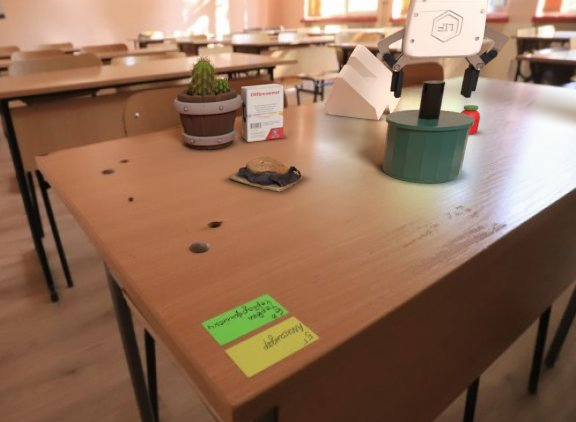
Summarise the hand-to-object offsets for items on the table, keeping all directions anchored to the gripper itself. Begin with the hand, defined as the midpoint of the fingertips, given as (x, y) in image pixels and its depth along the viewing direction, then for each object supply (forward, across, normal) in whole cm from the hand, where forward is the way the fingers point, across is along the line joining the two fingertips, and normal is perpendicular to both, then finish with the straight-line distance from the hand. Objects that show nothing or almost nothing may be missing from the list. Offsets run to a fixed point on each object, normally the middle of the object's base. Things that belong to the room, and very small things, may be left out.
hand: (430, 96), depth 65 cm
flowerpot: (+13, -41, +14) cm, 45 cm away
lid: (+4, 0, 0) cm, 4 cm away
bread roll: (+13, -25, -7) cm, 29 cm away
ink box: (+13, -30, +20) cm, 38 cm away
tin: (+12, 0, 0) cm, 12 cm away
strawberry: (+12, +13, +27) cm, 33 cm away
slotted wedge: (+12, -9, +43) cm, 46 cm away
